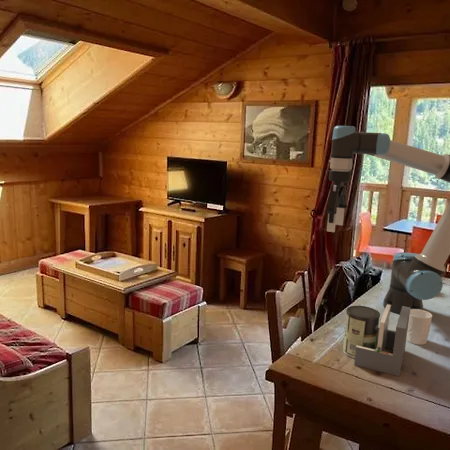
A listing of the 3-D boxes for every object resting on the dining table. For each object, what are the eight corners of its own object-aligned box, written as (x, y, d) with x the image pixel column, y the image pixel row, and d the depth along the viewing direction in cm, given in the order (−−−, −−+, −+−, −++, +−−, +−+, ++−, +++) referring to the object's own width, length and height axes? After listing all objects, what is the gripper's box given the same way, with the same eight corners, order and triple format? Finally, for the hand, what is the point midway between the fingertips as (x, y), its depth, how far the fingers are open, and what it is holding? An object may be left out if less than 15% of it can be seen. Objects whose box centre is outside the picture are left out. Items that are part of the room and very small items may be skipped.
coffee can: (373, 347, 152) (378, 307, 149) (377, 362, 142) (382, 319, 139) (341, 343, 153) (345, 303, 150) (343, 357, 144) (347, 315, 141)
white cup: (427, 337, 160) (431, 311, 158) (429, 347, 153) (433, 319, 150) (403, 333, 162) (407, 307, 160) (404, 343, 155) (407, 315, 153)
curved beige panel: (386, 344, 151) (390, 305, 148) (378, 369, 135) (383, 326, 132) (382, 343, 152) (387, 304, 149) (373, 368, 136) (379, 325, 133)
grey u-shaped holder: (404, 350, 150) (410, 307, 147) (399, 376, 134) (405, 329, 131) (364, 341, 155) (368, 299, 152) (354, 365, 139) (359, 319, 136)
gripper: (337, 167, 175) (332, 221, 180) (321, 171, 153) (316, 233, 158) (357, 168, 172) (352, 223, 177) (343, 173, 150) (337, 236, 155)
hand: (335, 228), depth 167 cm, fingers open, 13 cm apart
